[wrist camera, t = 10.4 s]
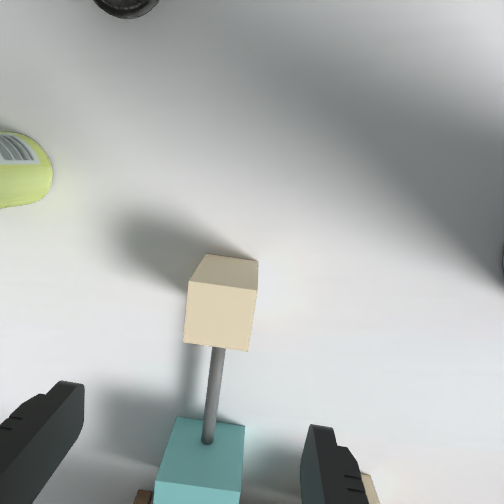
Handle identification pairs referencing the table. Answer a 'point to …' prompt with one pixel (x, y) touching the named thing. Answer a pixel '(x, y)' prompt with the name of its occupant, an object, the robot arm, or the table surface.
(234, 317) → the teal and cream dumbbell
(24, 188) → the tube
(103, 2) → the salt shaker
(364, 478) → the beige cube-topped post
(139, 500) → the walnut shelf
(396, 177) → the table surface
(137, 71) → the table surface
